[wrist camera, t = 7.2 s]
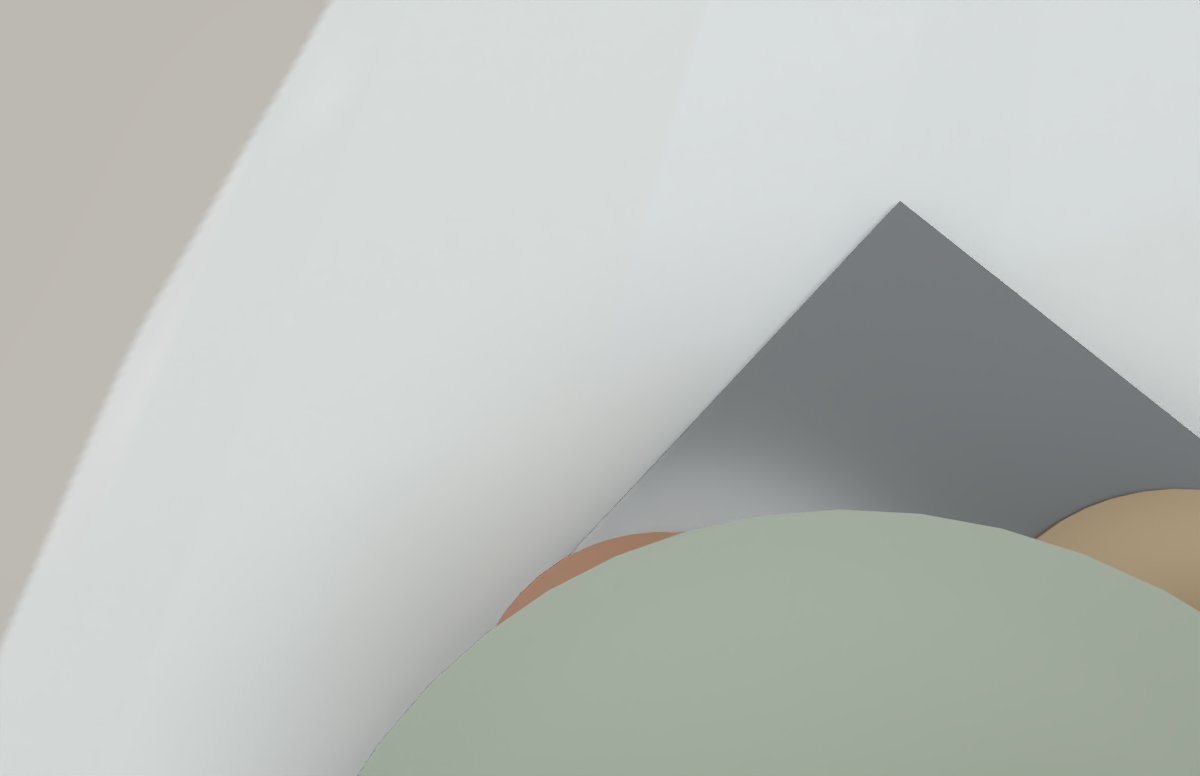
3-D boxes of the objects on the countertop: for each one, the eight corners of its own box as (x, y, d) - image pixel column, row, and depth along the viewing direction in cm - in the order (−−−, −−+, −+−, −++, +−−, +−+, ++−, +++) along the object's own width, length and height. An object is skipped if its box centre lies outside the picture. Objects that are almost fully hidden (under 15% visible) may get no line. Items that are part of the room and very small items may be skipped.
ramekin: (929, 713, 21) (963, 737, 18) (681, 987, 20) (673, 1060, 17) (663, 467, 22) (653, 449, 19) (430, 716, 22) (383, 739, 19)
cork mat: (1542, 710, 19) (1554, 712, 19) (1240, 1060, 19) (1248, 1067, 19) (1155, 403, 21) (1161, 400, 21) (873, 713, 21) (875, 715, 20)
